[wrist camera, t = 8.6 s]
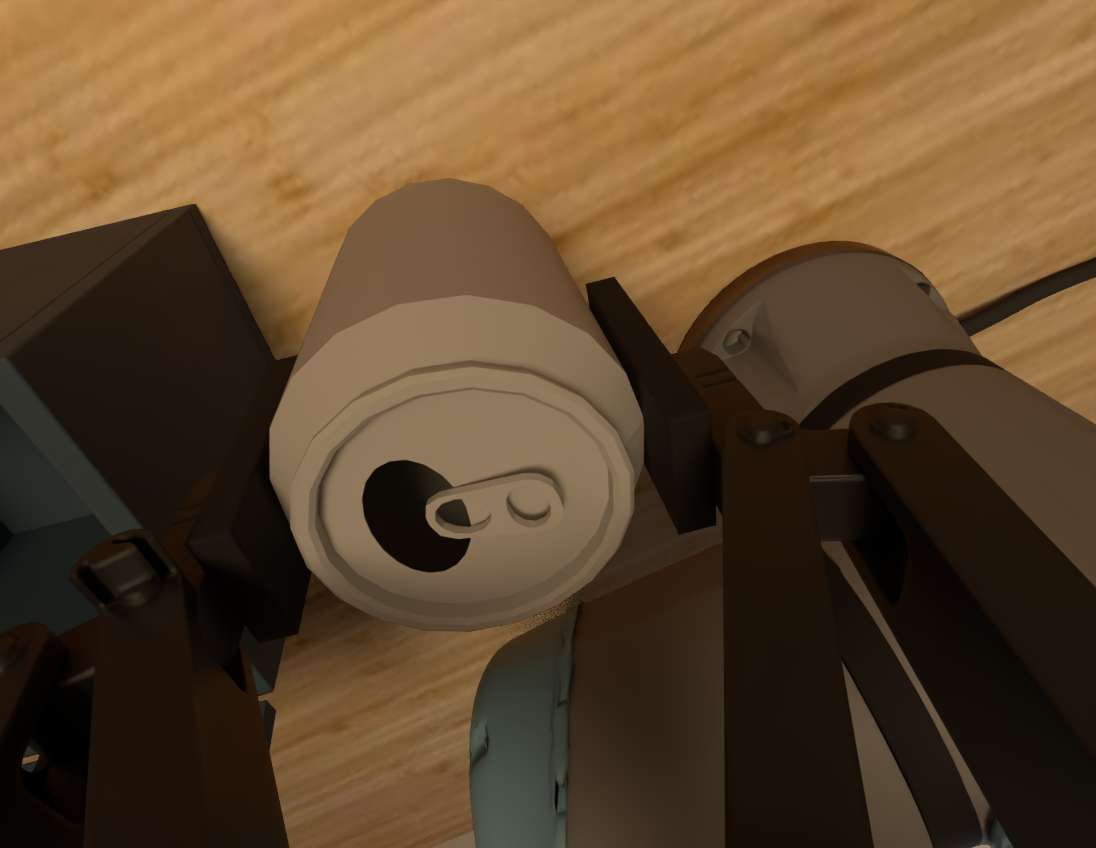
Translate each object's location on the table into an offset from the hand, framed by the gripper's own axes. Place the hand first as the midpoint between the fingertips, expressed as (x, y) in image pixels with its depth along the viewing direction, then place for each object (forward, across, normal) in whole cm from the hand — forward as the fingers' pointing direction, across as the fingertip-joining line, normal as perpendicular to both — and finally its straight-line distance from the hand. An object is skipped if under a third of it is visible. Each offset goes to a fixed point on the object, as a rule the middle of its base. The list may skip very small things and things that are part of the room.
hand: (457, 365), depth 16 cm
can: (+6, 0, 0) cm, 6 cm away
